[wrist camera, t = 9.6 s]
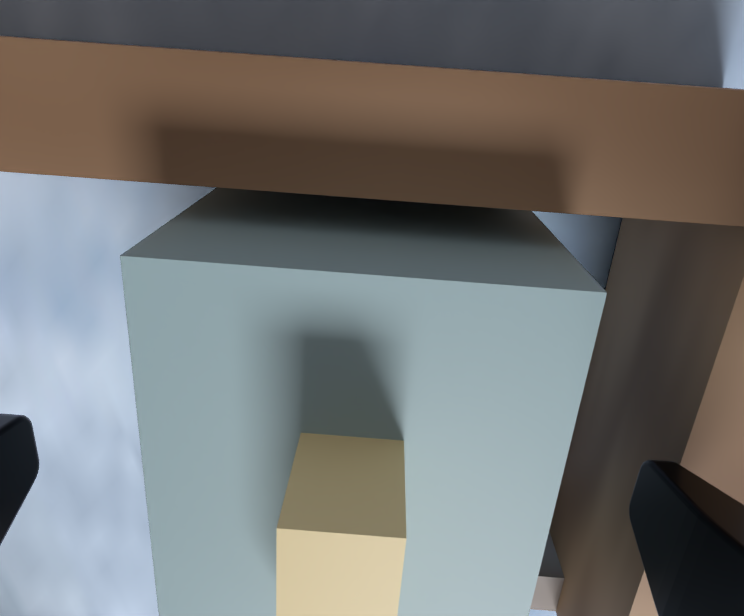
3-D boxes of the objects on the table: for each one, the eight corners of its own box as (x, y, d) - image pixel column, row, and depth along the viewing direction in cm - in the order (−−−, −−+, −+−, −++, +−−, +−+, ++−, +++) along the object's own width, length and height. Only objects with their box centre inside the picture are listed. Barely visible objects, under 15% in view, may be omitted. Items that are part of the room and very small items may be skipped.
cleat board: (589, 562, 14) (655, 735, 11) (-179, 500, 14) (-374, 649, 11) (724, 87, 10) (915, 103, 6) (-369, 9, 10) (-801, -22, 7)
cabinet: (461, 482, 14) (521, 854, 7) (251, 465, 14) (125, 821, 7) (508, 186, 11) (671, 362, 5) (246, 166, 11) (37, 313, 5)
